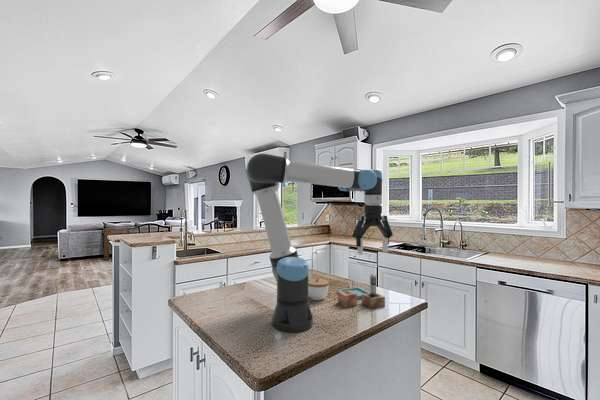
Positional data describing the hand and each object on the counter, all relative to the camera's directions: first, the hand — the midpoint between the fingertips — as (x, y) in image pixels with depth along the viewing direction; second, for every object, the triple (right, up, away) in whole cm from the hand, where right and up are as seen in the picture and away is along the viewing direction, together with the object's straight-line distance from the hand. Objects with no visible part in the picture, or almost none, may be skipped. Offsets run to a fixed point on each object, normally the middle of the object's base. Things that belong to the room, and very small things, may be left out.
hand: (372, 253), depth 127 cm
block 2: (0, -23, 0) cm, 23 cm away
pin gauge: (0, -23, 0) cm, 23 cm away
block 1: (-11, -23, +1) cm, 25 cm away
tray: (-5, -23, +13) cm, 27 cm away
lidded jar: (-24, -23, +8) cm, 34 cm away
